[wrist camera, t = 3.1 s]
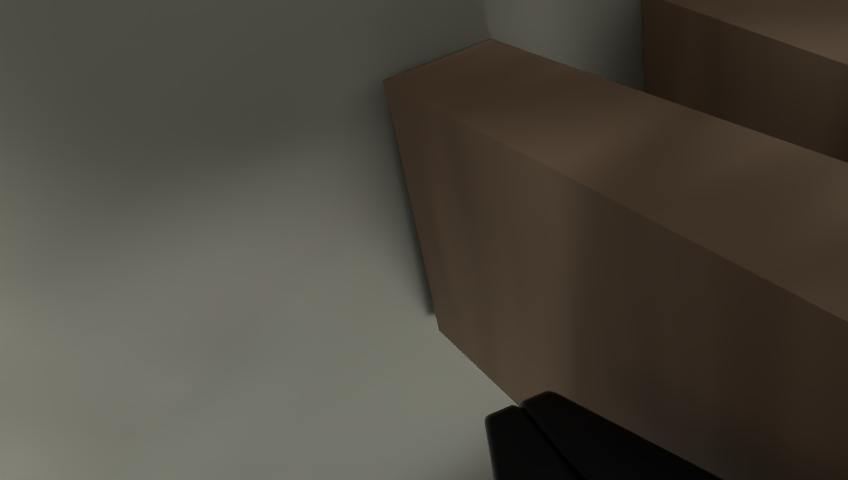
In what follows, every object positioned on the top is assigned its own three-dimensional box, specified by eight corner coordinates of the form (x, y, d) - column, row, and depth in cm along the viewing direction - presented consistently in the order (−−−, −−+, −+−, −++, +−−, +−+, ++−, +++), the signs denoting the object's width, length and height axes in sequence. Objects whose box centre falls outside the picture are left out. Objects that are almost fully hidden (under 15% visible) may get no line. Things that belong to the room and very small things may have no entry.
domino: (490, 39, 13) (1104, 251, 6) (525, 285, 15) (977, 618, 9) (383, 81, 12) (943, 370, 5) (438, 330, 15) (859, 728, 8)
